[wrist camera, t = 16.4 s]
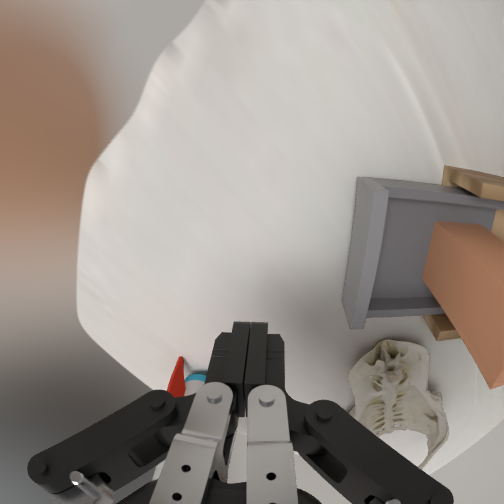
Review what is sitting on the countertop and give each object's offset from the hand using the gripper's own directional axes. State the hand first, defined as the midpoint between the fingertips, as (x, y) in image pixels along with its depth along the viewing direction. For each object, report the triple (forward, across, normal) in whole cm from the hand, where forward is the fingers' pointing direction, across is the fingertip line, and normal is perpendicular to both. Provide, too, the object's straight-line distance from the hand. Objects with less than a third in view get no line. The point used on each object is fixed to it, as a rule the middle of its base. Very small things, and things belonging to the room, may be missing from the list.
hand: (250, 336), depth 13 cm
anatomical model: (+12, -16, +22) cm, 30 cm away
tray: (+10, -13, 0) cm, 17 cm away
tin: (+9, -16, 0) cm, 18 cm away
